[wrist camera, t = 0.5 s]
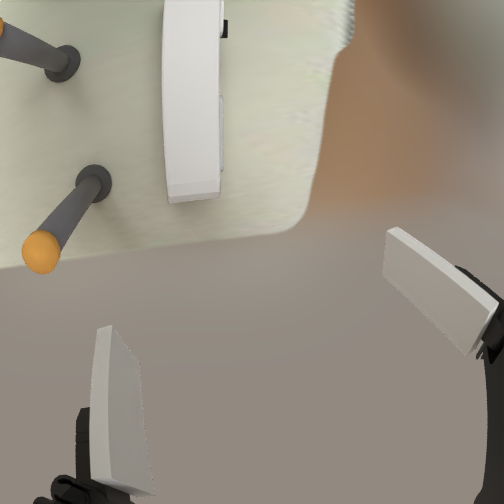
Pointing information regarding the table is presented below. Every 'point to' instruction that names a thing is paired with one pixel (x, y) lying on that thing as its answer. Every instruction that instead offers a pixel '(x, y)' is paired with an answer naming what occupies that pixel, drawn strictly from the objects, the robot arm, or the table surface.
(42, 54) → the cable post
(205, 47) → the rounded white slab
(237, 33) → the table surface
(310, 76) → the table surface
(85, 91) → the table surface
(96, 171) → the cable post
